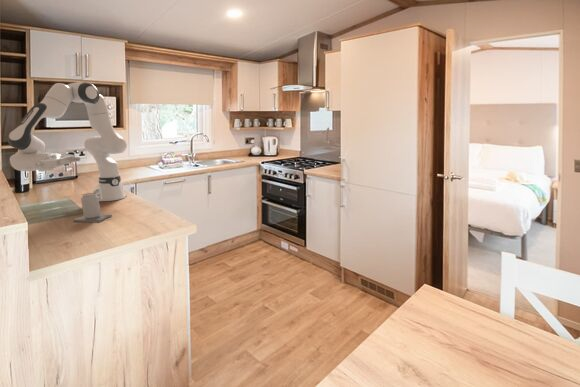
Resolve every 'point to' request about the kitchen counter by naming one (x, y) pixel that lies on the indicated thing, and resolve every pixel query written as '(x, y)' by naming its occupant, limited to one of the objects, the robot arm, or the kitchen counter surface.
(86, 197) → the can
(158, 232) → the kitchen counter surface
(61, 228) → the kitchen counter surface
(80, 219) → the slate tile
